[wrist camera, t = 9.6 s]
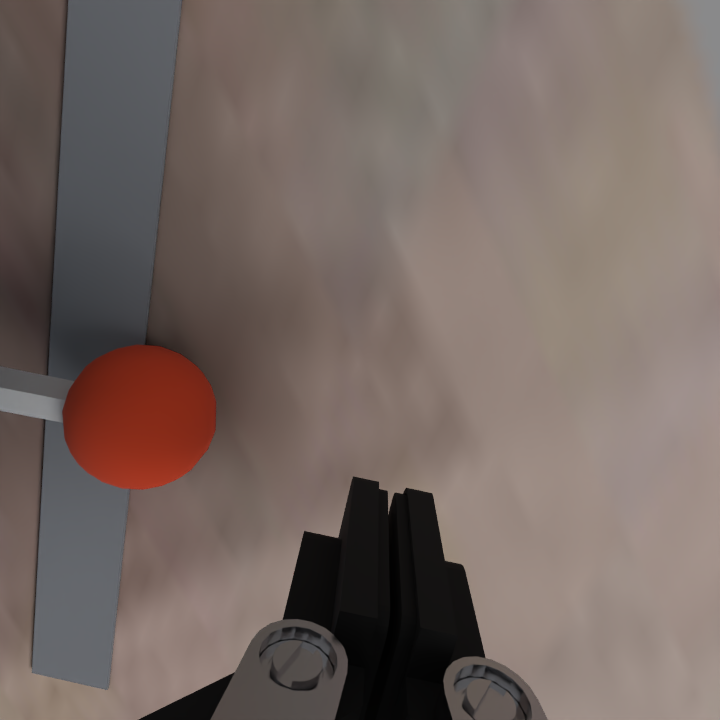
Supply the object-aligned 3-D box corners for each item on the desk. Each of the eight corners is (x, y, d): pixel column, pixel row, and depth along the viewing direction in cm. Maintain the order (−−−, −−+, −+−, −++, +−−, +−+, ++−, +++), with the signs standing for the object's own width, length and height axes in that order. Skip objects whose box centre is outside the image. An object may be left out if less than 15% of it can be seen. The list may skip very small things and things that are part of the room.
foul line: (109, 687, 18) (107, 690, 18) (34, 670, 18) (32, 672, 18) (200, -168, 11) (198, -171, 11) (82, -194, 11) (79, -197, 11)
